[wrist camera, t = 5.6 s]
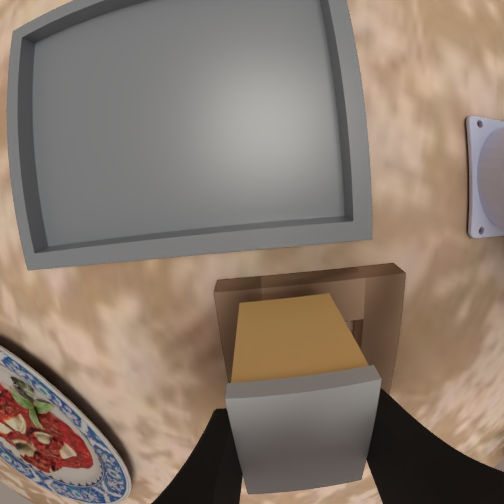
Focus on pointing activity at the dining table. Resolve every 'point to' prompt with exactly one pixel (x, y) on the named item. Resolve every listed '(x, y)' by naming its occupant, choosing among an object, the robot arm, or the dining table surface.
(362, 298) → the socket
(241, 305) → the block
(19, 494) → the dining table surface
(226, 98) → the parts tray
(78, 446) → the ceramic plate
